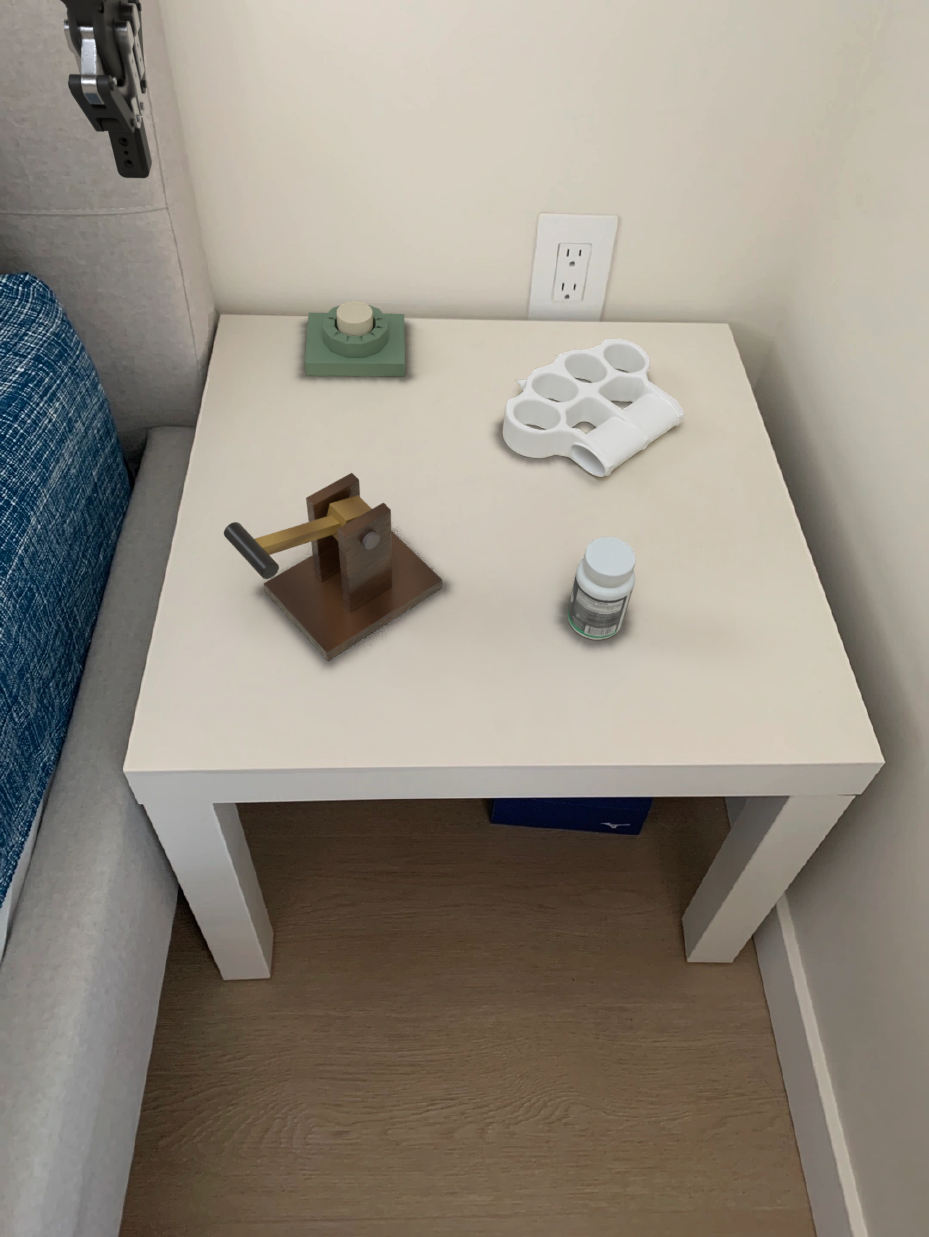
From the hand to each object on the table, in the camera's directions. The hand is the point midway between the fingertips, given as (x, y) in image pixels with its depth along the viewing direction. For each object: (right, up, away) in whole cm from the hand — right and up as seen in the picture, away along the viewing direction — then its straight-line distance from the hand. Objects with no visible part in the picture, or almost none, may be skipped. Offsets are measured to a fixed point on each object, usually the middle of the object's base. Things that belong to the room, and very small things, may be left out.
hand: (136, 172), depth 71 cm
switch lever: (+11, -27, +3) cm, 29 cm away
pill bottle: (+35, -32, +12) cm, 49 cm away
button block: (+13, -4, +31) cm, 34 cm away
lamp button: (+13, -3, +28) cm, 31 cm away
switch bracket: (+14, -30, +12) cm, 35 cm away
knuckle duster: (+36, -12, +27) cm, 46 cm away
